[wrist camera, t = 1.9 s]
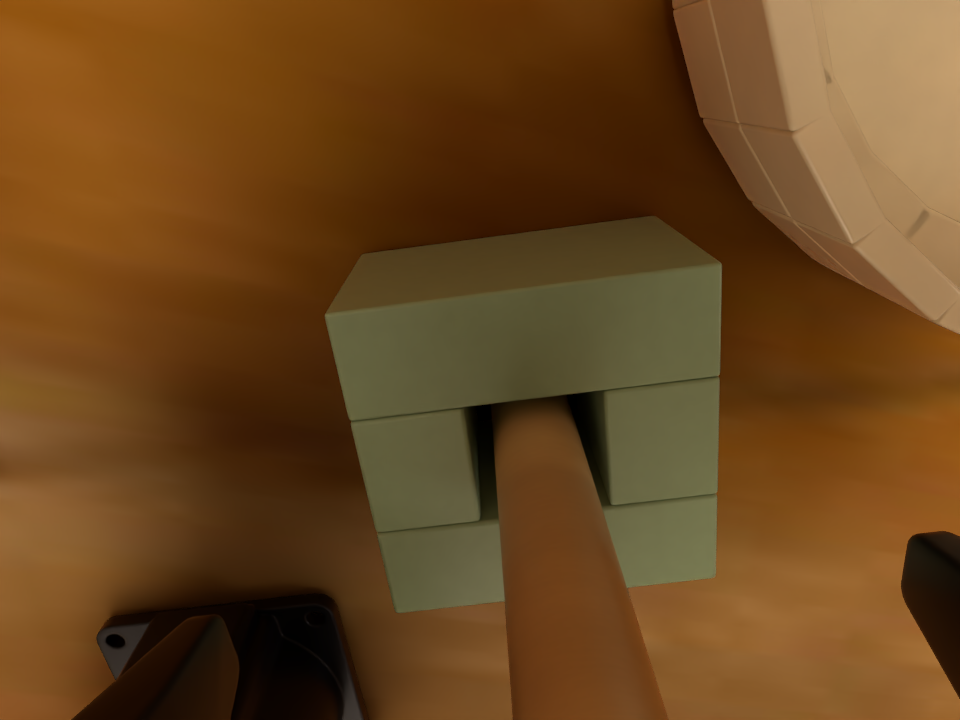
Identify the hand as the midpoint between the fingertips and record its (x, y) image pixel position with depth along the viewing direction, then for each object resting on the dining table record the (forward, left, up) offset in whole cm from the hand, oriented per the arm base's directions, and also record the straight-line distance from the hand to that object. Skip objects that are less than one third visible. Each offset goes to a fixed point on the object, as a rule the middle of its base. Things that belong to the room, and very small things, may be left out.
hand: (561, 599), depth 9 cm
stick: (0, 0, -7) cm, 7 cm away
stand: (0, 0, -7) cm, 7 cm away
